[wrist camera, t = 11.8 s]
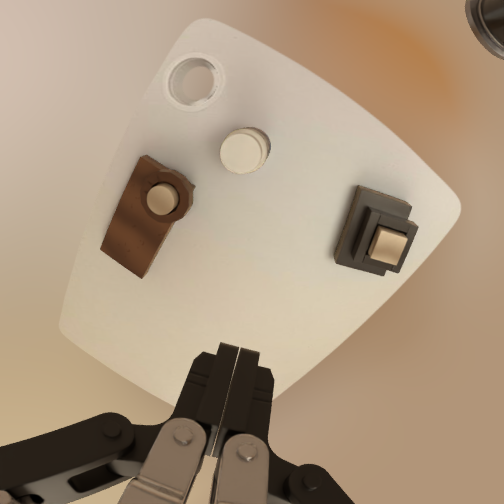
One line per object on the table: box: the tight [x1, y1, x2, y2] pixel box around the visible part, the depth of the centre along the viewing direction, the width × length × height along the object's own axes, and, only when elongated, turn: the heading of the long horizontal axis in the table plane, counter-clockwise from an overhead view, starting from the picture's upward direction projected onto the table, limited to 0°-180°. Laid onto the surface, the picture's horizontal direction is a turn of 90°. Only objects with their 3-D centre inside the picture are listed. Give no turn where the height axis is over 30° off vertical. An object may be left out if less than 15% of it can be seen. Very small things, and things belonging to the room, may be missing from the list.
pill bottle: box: [220, 127, 271, 174], centre depth 32 cm, size 5×5×8 cm
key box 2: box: [334, 185, 418, 276], centre depth 36 cm, size 10×8×4 cm
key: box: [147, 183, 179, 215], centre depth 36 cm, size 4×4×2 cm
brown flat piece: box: [100, 155, 195, 279], centre depth 40 cm, size 17×9×4 cm, turn 146°
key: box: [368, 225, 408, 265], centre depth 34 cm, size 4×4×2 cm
